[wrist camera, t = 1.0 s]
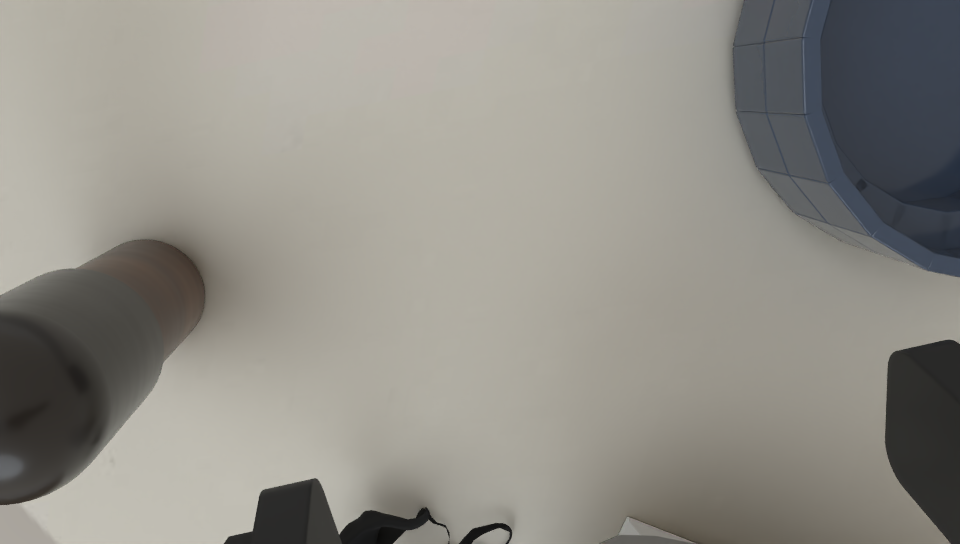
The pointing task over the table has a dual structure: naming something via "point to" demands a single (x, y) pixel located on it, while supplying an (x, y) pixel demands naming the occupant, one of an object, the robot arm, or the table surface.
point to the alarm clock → (644, 535)
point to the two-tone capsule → (86, 358)
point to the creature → (399, 528)
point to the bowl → (858, 119)
